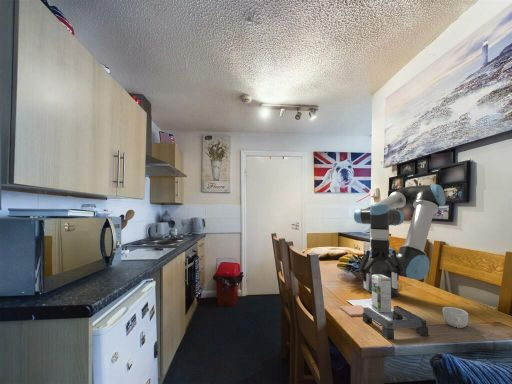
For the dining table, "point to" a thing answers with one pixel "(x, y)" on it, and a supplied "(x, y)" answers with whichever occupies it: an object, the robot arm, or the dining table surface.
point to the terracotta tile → (353, 310)
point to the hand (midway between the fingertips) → (380, 288)
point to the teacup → (455, 317)
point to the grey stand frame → (396, 321)
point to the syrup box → (381, 293)
